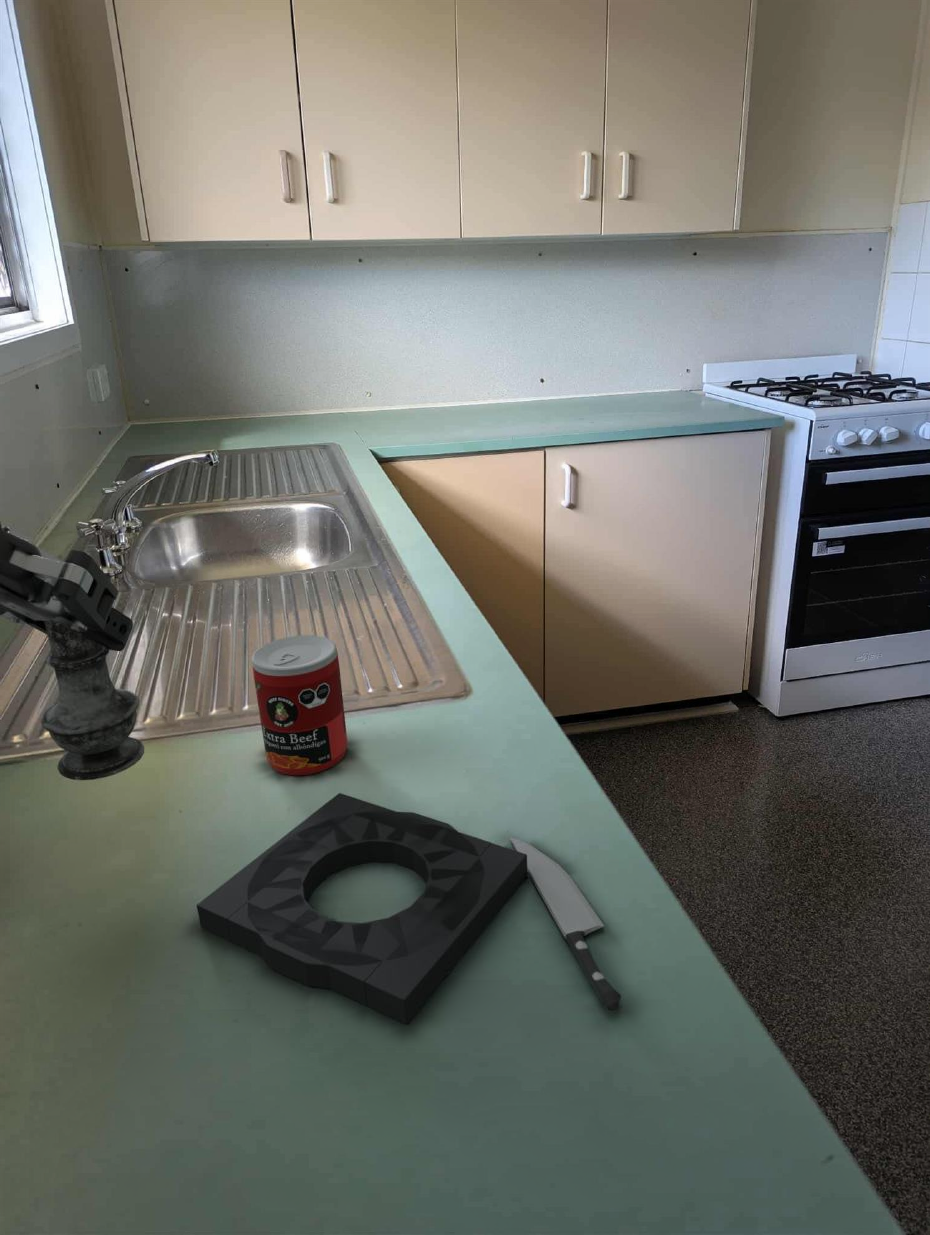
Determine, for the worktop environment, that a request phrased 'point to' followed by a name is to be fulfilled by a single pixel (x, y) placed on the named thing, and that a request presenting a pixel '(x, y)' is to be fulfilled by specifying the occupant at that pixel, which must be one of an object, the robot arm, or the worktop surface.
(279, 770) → the canned food
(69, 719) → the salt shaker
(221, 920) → the black pad
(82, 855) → the worktop surface
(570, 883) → the chef's knife
